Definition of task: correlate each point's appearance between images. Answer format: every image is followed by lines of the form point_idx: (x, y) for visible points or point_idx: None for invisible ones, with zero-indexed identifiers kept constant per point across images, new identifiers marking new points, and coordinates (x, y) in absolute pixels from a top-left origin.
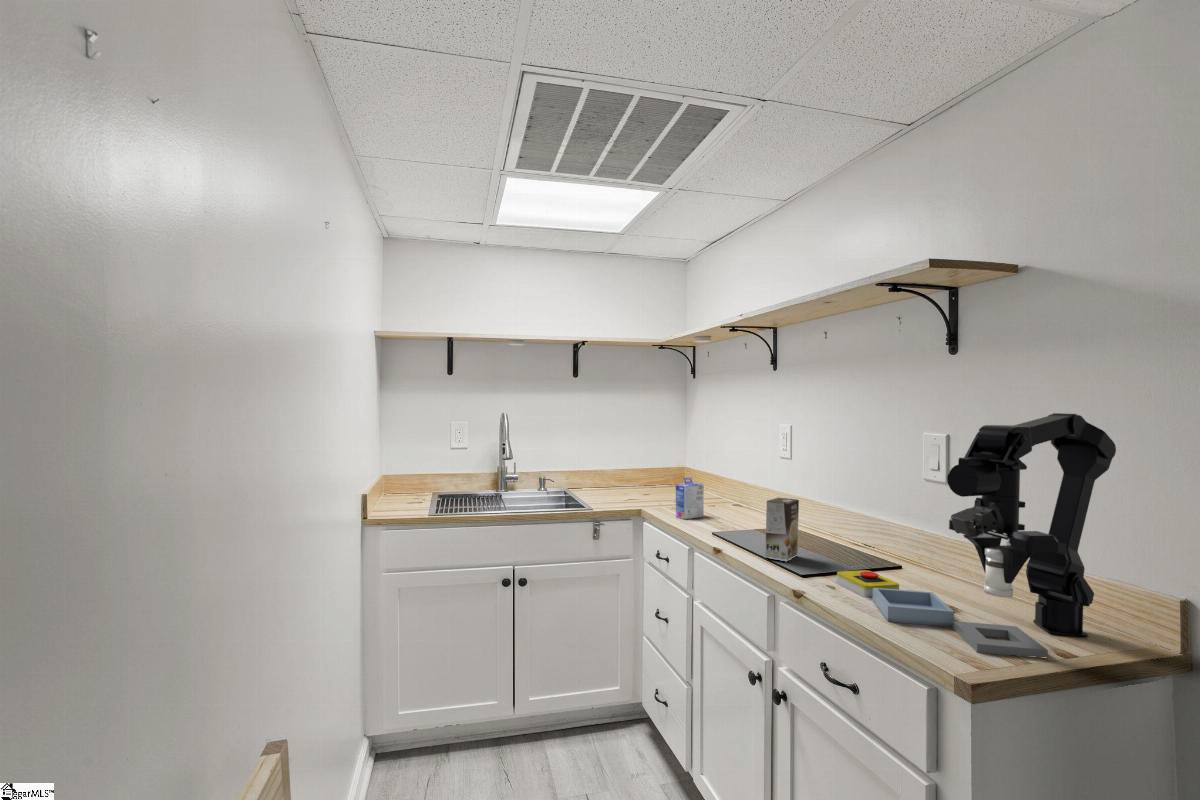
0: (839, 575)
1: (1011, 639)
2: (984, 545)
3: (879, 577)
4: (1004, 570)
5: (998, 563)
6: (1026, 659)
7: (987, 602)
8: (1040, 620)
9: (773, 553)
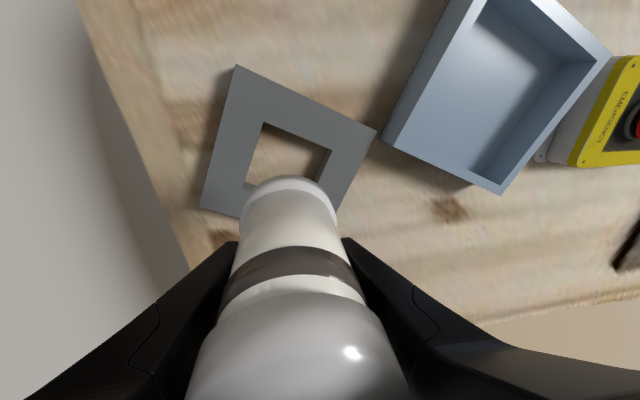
0: None
1: None
2: (436, 395)
3: (628, 151)
4: (211, 276)
5: (232, 290)
6: (200, 155)
7: (442, 286)
8: None
9: None
